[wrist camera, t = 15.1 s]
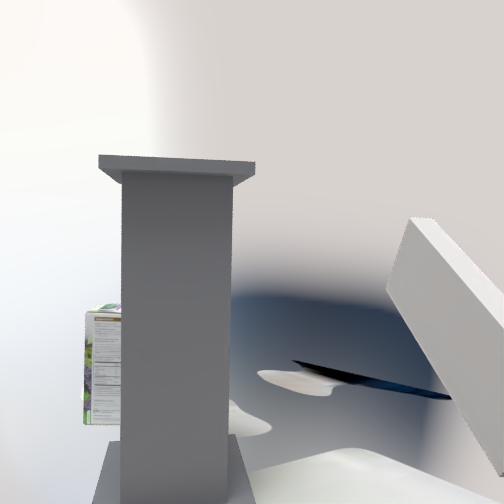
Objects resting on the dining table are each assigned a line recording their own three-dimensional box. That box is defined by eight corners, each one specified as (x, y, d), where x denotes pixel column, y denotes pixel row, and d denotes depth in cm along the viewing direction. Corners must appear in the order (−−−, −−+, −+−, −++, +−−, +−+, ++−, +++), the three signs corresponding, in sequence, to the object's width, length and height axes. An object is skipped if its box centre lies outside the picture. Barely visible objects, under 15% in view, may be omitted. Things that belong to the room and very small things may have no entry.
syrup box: (96, 407, 63) (97, 302, 62) (140, 408, 63) (141, 303, 63) (82, 425, 58) (82, 310, 57) (130, 426, 58) (131, 311, 57)
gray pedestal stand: (261, 536, 38) (270, 160, 36) (81, 554, 35) (82, 151, 34) (234, 444, 54) (240, 179, 52) (109, 452, 51) (110, 174, 49)
